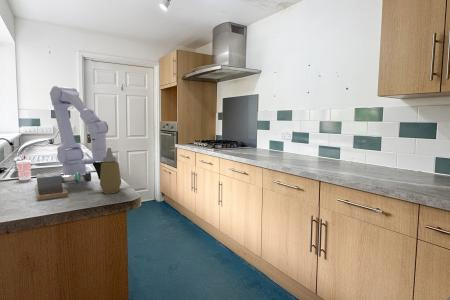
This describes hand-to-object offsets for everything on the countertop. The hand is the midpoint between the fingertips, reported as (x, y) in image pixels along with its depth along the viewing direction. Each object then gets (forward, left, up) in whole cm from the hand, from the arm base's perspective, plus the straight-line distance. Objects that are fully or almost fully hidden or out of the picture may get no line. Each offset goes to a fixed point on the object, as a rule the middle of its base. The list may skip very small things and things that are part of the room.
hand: (100, 179), depth 120 cm
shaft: (+12, 0, -1) cm, 12 cm away
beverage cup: (+27, -36, -3) cm, 45 cm away
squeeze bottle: (-1, +14, -3) cm, 14 cm away
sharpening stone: (+19, 0, -3) cm, 19 cm away
